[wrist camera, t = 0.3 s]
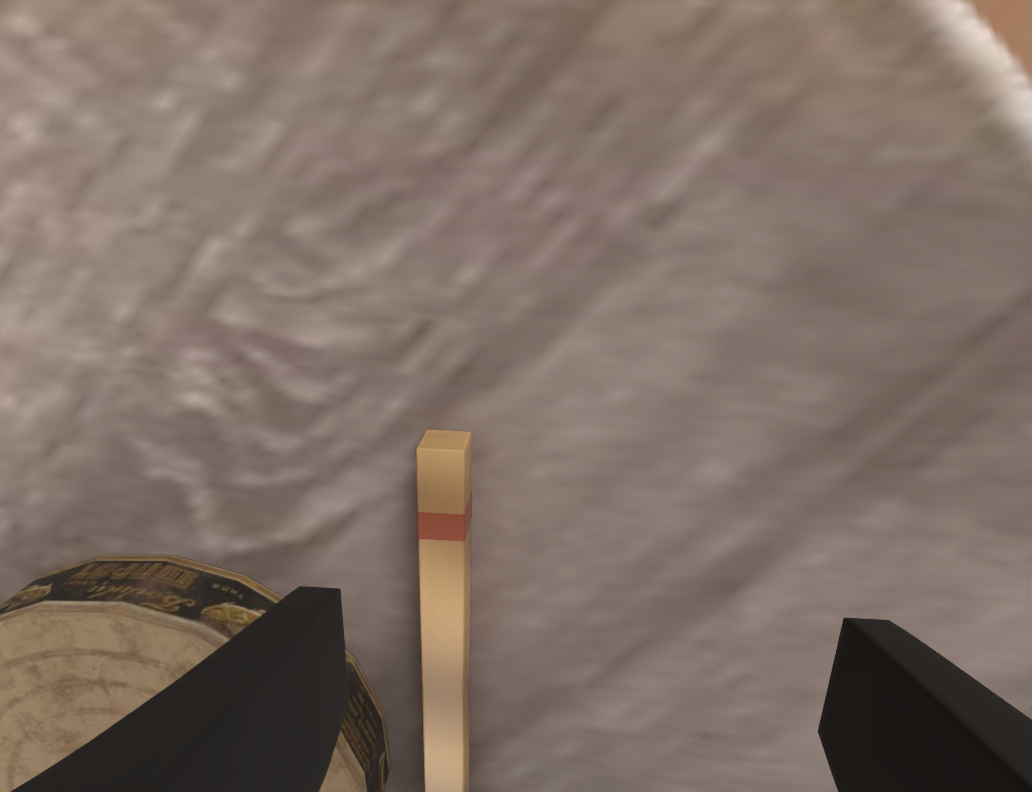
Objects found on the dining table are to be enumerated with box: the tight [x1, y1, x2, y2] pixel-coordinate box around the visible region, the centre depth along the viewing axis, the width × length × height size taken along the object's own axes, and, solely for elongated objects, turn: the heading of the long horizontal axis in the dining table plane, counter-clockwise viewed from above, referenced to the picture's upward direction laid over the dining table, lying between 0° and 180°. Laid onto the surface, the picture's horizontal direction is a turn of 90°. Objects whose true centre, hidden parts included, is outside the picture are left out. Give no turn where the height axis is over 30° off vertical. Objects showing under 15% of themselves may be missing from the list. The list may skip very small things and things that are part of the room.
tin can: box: [0, 555, 391, 792], centre depth 22 cm, size 16×16×3 cm
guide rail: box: [416, 430, 472, 792], centre depth 21 cm, size 18×1×2 cm, turn 178°
